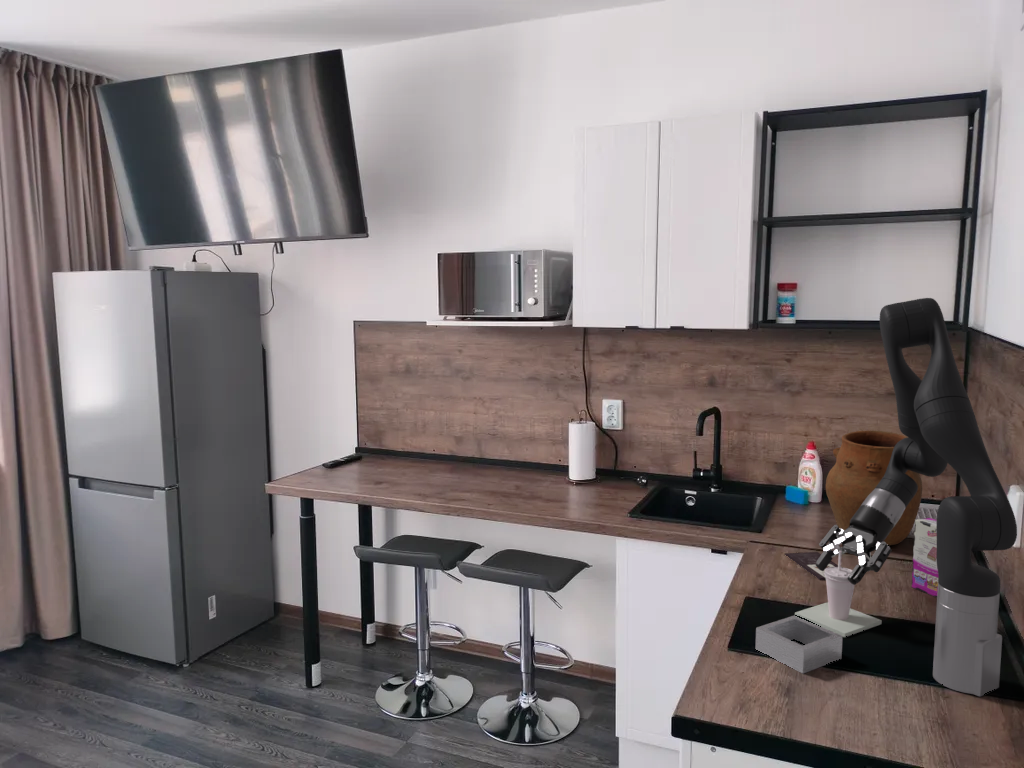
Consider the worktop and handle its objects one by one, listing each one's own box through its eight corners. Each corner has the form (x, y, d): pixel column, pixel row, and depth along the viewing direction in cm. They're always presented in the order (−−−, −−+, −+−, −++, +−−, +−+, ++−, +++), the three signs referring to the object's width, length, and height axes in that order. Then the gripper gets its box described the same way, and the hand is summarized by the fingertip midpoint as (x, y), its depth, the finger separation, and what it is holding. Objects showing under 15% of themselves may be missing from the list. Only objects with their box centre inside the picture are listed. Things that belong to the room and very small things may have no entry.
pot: (819, 546, 208) (823, 437, 205) (828, 523, 229) (832, 424, 226) (919, 560, 197) (925, 445, 193) (918, 534, 218) (924, 430, 215)
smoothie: (844, 609, 164) (847, 546, 162) (861, 621, 158) (865, 556, 156) (816, 610, 163) (819, 547, 162) (832, 623, 157) (835, 557, 155)
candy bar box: (969, 601, 170) (973, 529, 168) (952, 604, 168) (956, 532, 166) (925, 584, 180) (929, 516, 179) (910, 587, 179) (913, 518, 177)
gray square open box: (841, 658, 143) (842, 635, 143) (802, 673, 138) (803, 649, 137) (793, 637, 153) (794, 615, 152) (755, 650, 147) (756, 627, 147)
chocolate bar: (817, 552, 202) (855, 576, 184) (817, 555, 202) (855, 580, 184) (784, 553, 201) (820, 578, 183) (784, 556, 201) (820, 582, 183)
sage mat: (881, 624, 159) (881, 620, 158) (844, 637, 152) (844, 633, 152) (831, 604, 169) (831, 600, 169) (794, 616, 163) (794, 612, 163)
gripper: (842, 496, 167) (800, 554, 164) (898, 513, 154) (852, 576, 151) (859, 517, 170) (817, 574, 167) (915, 535, 157) (871, 597, 154)
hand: (834, 575), depth 159 cm, fingers open, 8 cm apart
